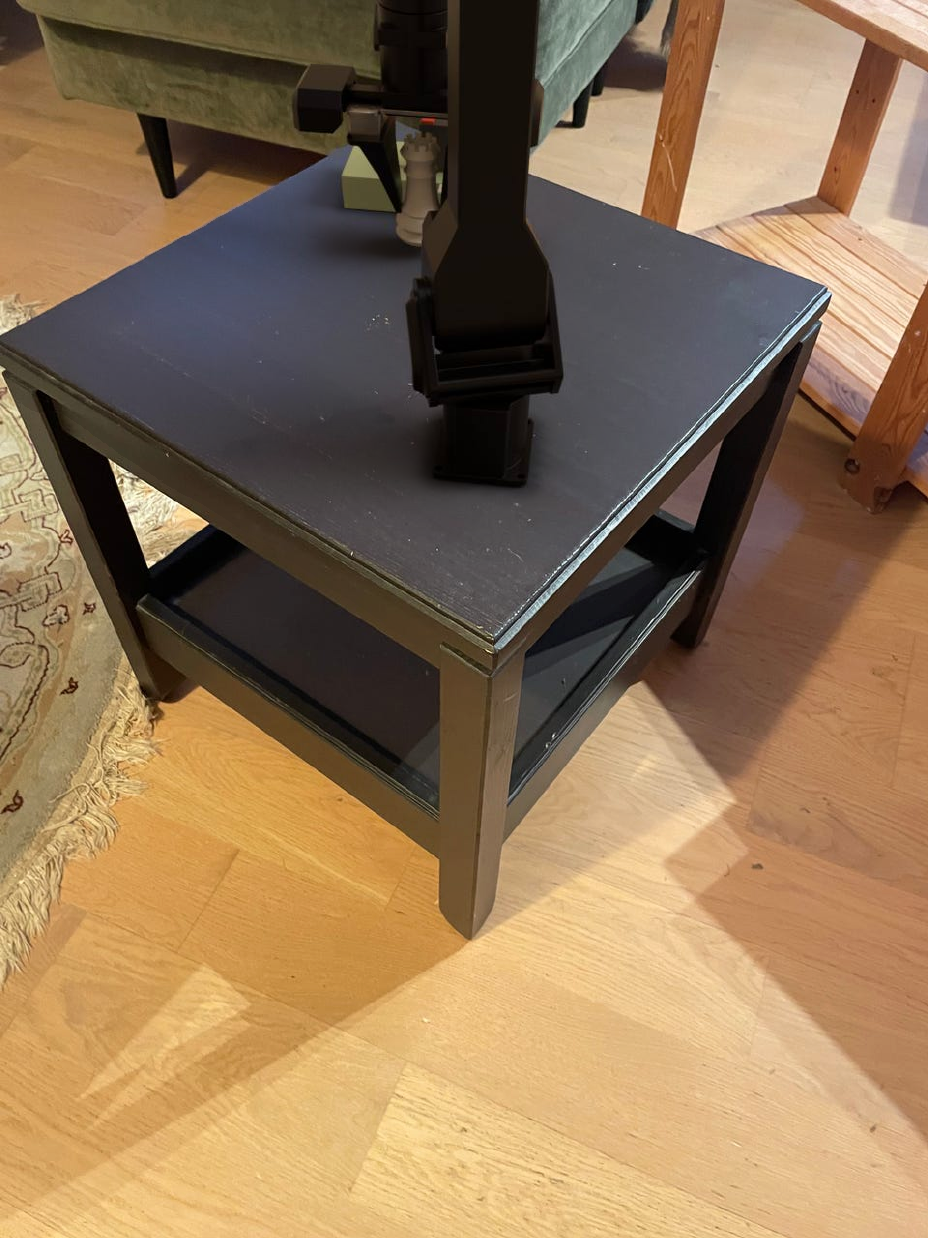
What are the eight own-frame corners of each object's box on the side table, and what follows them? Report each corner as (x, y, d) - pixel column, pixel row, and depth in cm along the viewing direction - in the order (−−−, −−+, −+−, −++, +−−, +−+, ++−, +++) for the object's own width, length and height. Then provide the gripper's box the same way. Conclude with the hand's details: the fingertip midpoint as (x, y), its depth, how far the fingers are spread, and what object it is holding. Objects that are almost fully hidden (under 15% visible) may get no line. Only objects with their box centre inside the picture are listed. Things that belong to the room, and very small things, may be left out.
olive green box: (488, 230, 82) (489, 195, 79) (340, 218, 83) (336, 183, 80) (497, 180, 87) (499, 146, 85) (358, 170, 88) (356, 136, 86)
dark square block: (472, 166, 83) (473, 117, 79) (470, 174, 82) (471, 124, 78) (422, 162, 83) (421, 113, 80) (420, 170, 82) (418, 120, 79)
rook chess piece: (459, 235, 79) (460, 139, 73) (419, 254, 77) (417, 158, 71) (424, 215, 81) (422, 120, 75) (385, 233, 79) (380, 137, 73)
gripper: (556, -34, 69) (539, 173, 82) (312, -49, 71) (332, 158, 83) (546, 24, 63) (530, 240, 75) (276, 7, 64) (304, 222, 76)
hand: (422, 212), depth 77 cm, fingers closed on rook chess piece, 3 cm apart
